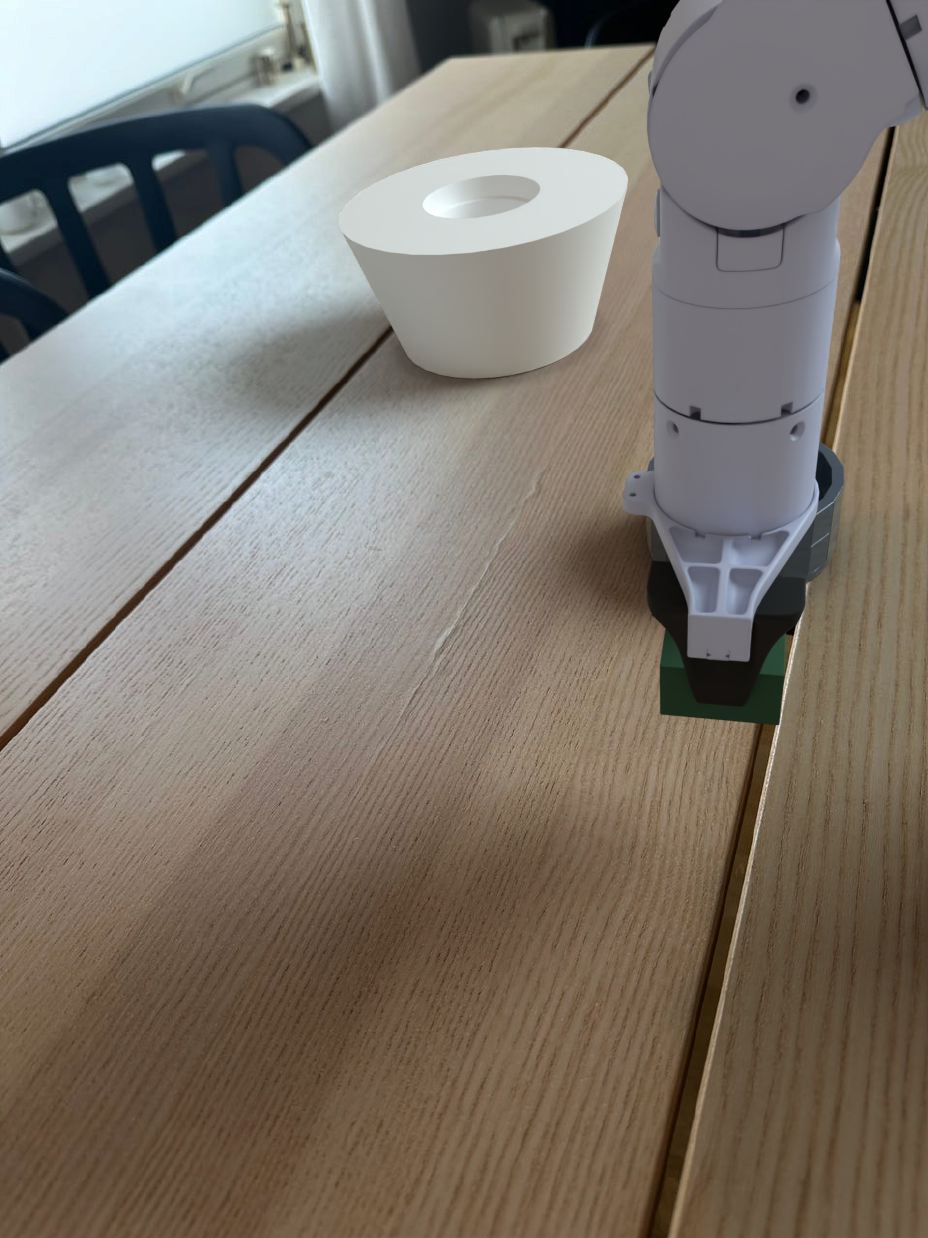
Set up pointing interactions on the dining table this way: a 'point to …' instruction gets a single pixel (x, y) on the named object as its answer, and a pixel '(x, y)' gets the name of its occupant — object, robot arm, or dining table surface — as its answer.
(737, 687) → the robot arm
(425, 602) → the dining table surface
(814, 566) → the basin
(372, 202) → the white tapered cylinder
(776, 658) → the green rectangular block
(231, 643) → the dining table surface
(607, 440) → the dining table surface
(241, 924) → the dining table surface
